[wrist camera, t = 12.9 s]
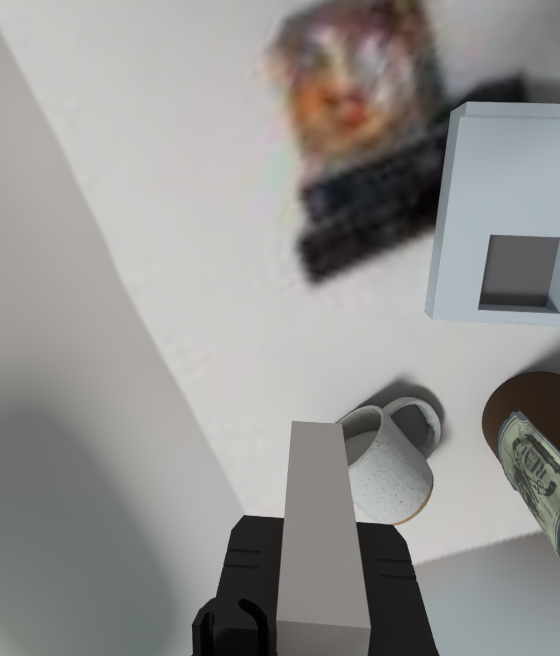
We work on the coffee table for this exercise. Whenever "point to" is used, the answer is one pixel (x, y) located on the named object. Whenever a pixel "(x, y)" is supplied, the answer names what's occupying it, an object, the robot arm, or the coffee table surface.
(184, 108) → the coffee table surface
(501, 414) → the olive oil
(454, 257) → the board
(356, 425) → the ceramic mug
